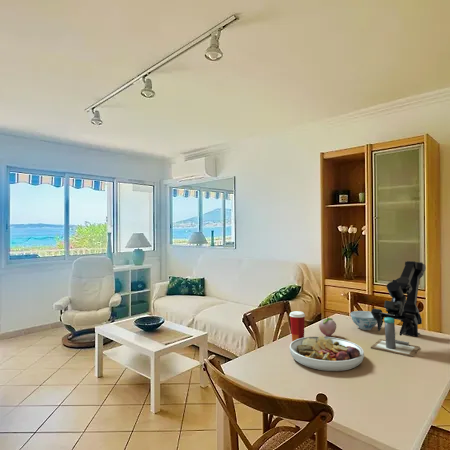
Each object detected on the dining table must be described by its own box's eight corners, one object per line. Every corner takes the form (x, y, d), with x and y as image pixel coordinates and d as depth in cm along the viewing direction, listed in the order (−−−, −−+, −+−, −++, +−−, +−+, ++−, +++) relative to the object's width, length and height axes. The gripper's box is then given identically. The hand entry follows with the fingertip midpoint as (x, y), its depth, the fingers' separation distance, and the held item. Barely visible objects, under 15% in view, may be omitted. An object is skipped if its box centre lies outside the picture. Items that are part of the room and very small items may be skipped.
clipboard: (380, 340, 161) (380, 337, 161) (419, 347, 149) (419, 344, 149) (370, 348, 150) (370, 344, 150) (412, 357, 139) (412, 353, 139)
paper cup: (304, 338, 165) (304, 310, 165) (307, 344, 157) (306, 314, 158) (289, 338, 166) (288, 310, 166) (290, 343, 158) (289, 314, 158)
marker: (385, 345, 151) (383, 317, 152) (395, 346, 150) (393, 317, 150) (386, 348, 147) (384, 319, 148) (397, 349, 146) (395, 319, 146)
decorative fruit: (322, 332, 174) (322, 313, 175) (338, 335, 170) (337, 315, 170) (316, 337, 167) (315, 317, 167) (332, 340, 162) (332, 320, 162)
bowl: (276, 361, 138) (275, 342, 139) (310, 342, 160) (310, 326, 161) (346, 382, 118) (345, 360, 118) (375, 357, 140) (374, 339, 140)
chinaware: (380, 325, 185) (379, 312, 185) (380, 333, 171) (380, 318, 171) (351, 323, 191) (351, 310, 191) (349, 330, 177) (349, 316, 177)
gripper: (371, 291, 158) (362, 319, 150) (414, 296, 145) (406, 327, 137) (379, 305, 163) (370, 332, 156) (421, 311, 150) (413, 341, 142)
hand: (389, 333), depth 147 cm, fingers open, 9 cm apart
